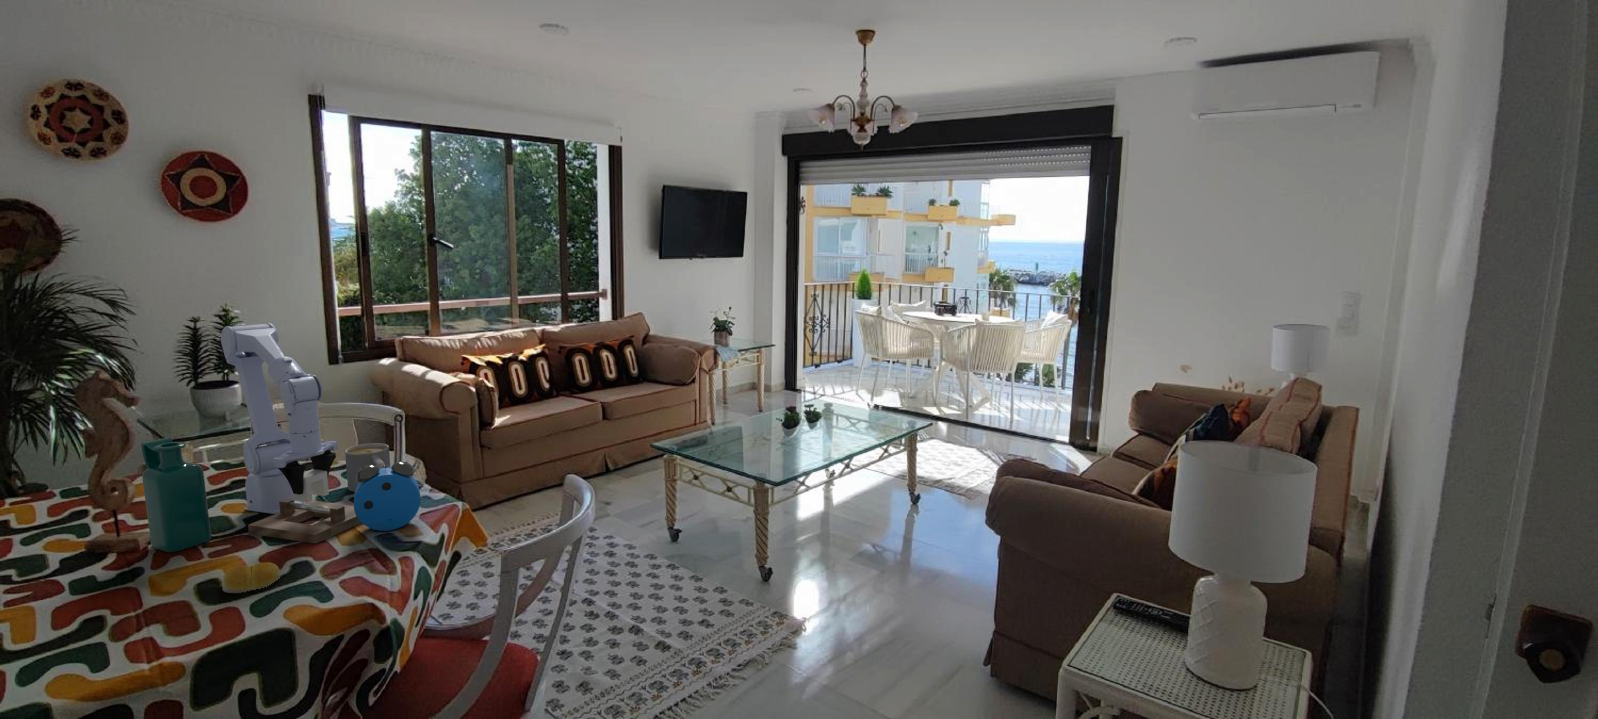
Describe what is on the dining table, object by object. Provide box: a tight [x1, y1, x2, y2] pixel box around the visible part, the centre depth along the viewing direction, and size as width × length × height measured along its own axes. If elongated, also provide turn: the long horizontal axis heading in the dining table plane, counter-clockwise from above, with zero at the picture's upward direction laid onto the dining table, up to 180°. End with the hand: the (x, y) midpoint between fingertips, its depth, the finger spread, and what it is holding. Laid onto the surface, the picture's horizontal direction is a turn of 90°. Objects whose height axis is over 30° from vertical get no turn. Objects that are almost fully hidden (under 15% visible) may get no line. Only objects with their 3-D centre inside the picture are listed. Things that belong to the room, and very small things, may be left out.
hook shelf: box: [247, 499, 362, 544], centre depth 173 cm, size 18×16×5 cm
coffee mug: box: [344, 442, 391, 493], centre depth 197 cm, size 13×10×10 cm
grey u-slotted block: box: [292, 468, 330, 503], centre depth 172 cm, size 4×6×6 cm
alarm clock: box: [353, 460, 422, 532], centre depth 172 cm, size 13×6×15 cm, turn 119°
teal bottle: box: [140, 437, 212, 553], centre depth 160 cm, size 10×8×22 cm
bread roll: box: [221, 561, 281, 594], centre depth 145 cm, size 8×9×4 cm
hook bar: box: [288, 502, 331, 514], centre depth 172 cm, size 14×1×1 cm, turn 76°
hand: (310, 489), depth 172 cm, fingers closed on grey u-slotted block, 6 cm apart
